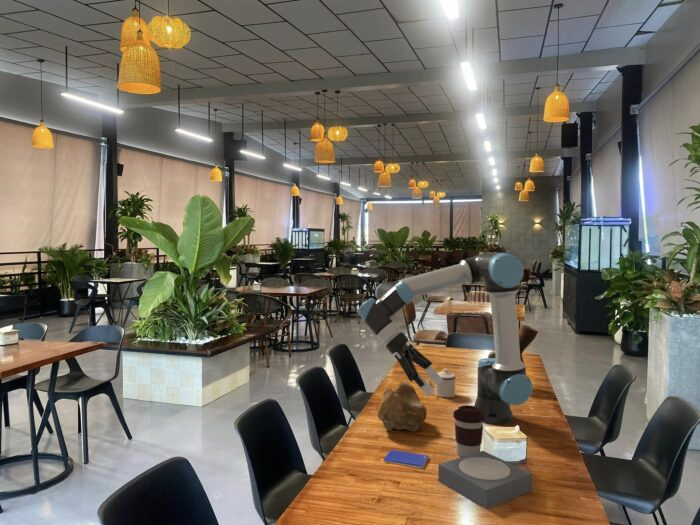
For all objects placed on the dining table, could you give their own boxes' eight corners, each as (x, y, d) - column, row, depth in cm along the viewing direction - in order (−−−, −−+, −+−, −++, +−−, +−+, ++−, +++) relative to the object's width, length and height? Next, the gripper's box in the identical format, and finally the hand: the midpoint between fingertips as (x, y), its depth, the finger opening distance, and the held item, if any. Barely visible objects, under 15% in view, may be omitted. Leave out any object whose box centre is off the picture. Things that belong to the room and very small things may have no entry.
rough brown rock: (413, 444, 179) (418, 401, 178) (369, 431, 187) (374, 390, 186) (435, 425, 200) (439, 386, 199) (394, 414, 207) (398, 377, 206)
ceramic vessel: (486, 382, 252) (487, 320, 251) (533, 385, 249) (535, 322, 247) (489, 392, 237) (490, 326, 235) (539, 395, 233) (541, 328, 232)
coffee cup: (446, 453, 170) (447, 408, 169) (463, 445, 176) (464, 401, 176) (473, 463, 162) (474, 416, 162) (490, 454, 169) (491, 408, 169)
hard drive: (428, 454, 166) (391, 448, 171) (422, 465, 159) (383, 458, 163) (428, 459, 166) (391, 453, 171) (422, 470, 159) (383, 463, 163)
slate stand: (482, 466, 160) (482, 449, 160) (531, 491, 145) (531, 472, 145) (438, 481, 151) (438, 463, 150) (485, 508, 135) (486, 488, 135)
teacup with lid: (457, 394, 234) (458, 368, 233) (451, 399, 226) (452, 373, 225) (432, 390, 239) (432, 365, 239) (425, 395, 231) (425, 369, 231)
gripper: (396, 339, 190) (436, 385, 185) (372, 352, 167) (417, 405, 162) (411, 325, 188) (451, 372, 183) (389, 337, 165) (434, 391, 160)
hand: (435, 388), depth 172 cm, fingers open, 13 cm apart
